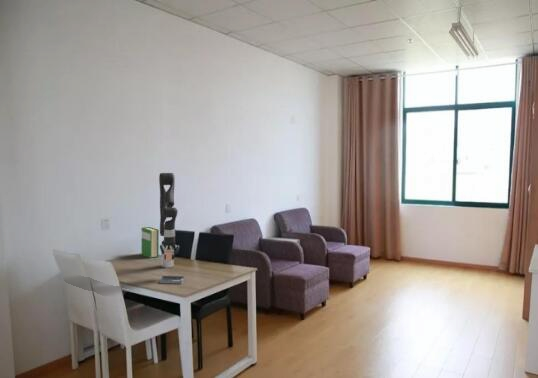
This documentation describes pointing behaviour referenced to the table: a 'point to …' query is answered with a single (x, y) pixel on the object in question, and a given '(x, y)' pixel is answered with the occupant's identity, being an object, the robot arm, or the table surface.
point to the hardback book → (150, 242)
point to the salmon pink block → (169, 255)
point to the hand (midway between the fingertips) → (169, 259)
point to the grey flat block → (172, 279)
